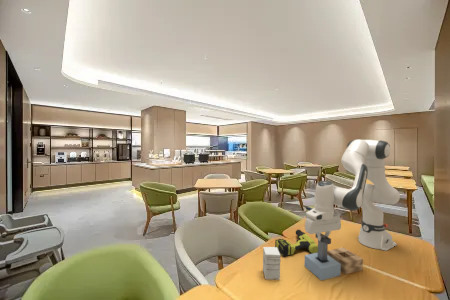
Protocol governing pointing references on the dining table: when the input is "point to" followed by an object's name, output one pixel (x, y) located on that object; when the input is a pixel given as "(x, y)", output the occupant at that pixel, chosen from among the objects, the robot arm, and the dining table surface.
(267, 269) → the supplement box
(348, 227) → the dining table surface
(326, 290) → the dining table surface
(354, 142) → the robot arm
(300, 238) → the cordless drill
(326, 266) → the block
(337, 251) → the stand
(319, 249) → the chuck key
